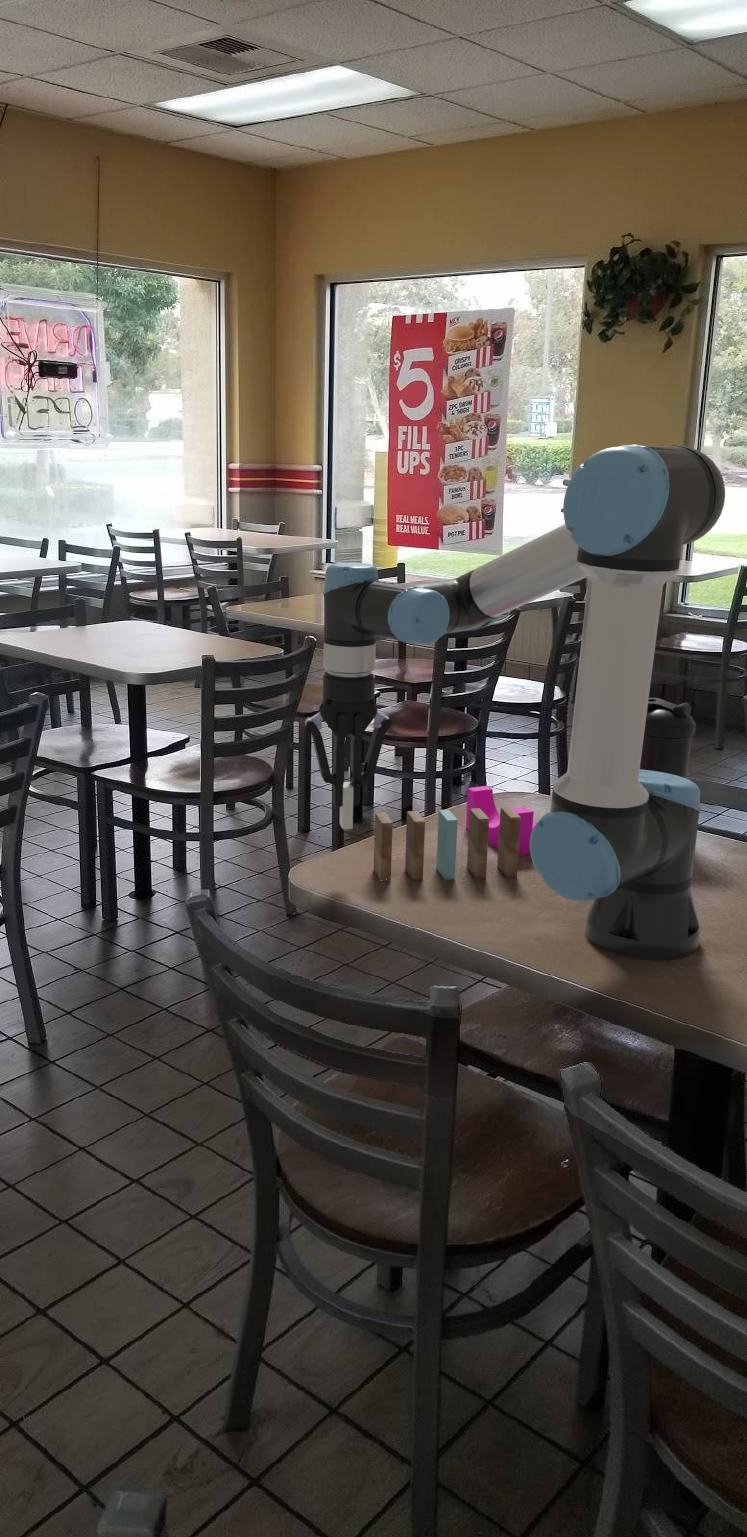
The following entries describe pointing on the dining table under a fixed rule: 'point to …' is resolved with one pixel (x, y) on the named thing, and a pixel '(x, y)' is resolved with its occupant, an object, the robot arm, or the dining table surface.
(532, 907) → the dining table surface
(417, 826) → the domino
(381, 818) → the domino
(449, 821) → the domino
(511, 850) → the domino
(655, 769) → the water bottle
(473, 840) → the domino
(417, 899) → the dining table surface
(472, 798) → the toy block
